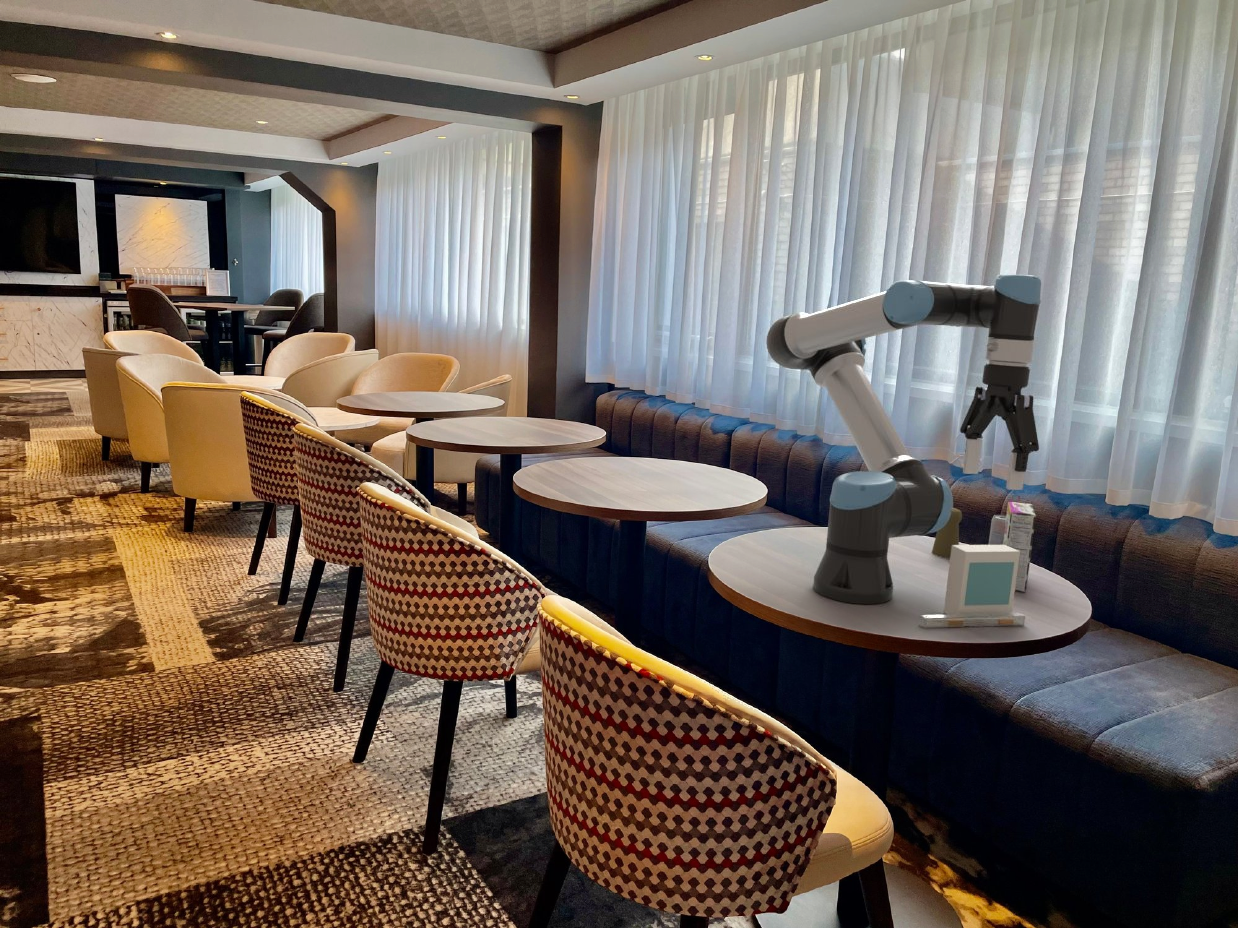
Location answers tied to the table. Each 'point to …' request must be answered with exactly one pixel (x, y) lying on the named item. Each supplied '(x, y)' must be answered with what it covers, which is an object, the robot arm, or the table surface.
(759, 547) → the table surface
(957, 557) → the carton box
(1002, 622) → the rail
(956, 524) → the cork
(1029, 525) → the candy bar box
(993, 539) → the energy drink
